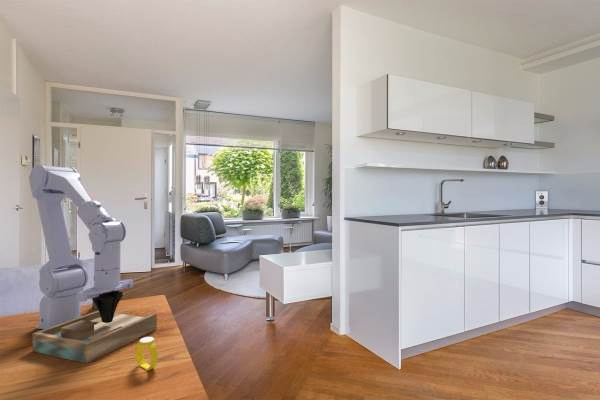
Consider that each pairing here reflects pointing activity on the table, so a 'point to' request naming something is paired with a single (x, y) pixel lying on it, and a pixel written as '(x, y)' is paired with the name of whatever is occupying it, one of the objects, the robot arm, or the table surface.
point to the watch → (153, 352)
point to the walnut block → (78, 330)
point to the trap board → (98, 344)
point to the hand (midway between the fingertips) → (107, 321)
